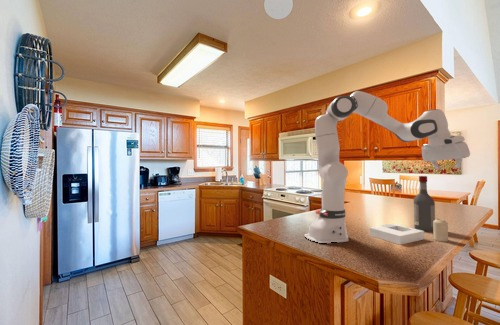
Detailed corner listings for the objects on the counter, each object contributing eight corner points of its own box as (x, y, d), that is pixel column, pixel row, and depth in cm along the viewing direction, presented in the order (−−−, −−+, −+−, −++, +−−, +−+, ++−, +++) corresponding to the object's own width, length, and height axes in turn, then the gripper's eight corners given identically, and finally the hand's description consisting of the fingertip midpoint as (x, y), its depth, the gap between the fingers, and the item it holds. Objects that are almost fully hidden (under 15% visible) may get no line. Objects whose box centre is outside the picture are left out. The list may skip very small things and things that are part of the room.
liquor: (433, 228, 130) (432, 175, 131) (435, 232, 123) (434, 176, 123) (414, 226, 135) (412, 175, 136) (414, 230, 128) (413, 176, 128)
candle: (430, 238, 114) (430, 218, 114) (440, 237, 115) (440, 217, 115) (440, 242, 109) (440, 220, 109) (451, 241, 109) (450, 220, 109)
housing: (400, 244, 106) (399, 236, 106) (369, 235, 120) (369, 227, 120) (424, 239, 113) (424, 231, 113) (392, 230, 128) (392, 223, 128)
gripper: (416, 146, 123) (422, 171, 122) (457, 138, 103) (465, 168, 102) (425, 143, 124) (432, 168, 124) (468, 136, 104) (476, 165, 104)
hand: (447, 168), depth 113 cm, fingers open, 8 cm apart
